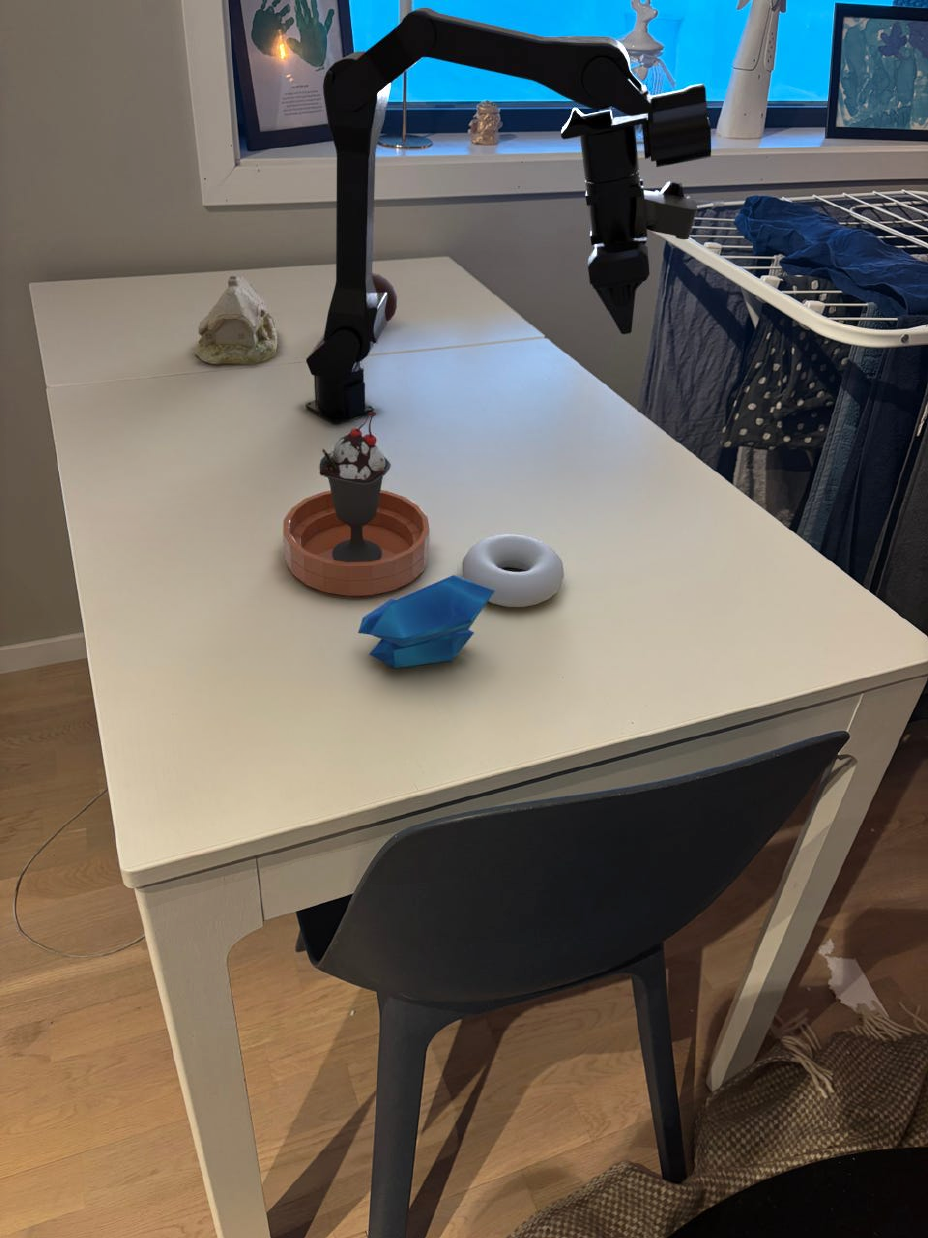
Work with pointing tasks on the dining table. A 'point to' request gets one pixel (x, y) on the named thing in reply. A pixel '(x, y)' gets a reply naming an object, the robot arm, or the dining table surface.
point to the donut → (519, 553)
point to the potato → (385, 287)
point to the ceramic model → (237, 328)
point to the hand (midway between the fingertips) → (626, 318)
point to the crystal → (426, 623)
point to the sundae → (355, 490)
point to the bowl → (320, 531)
